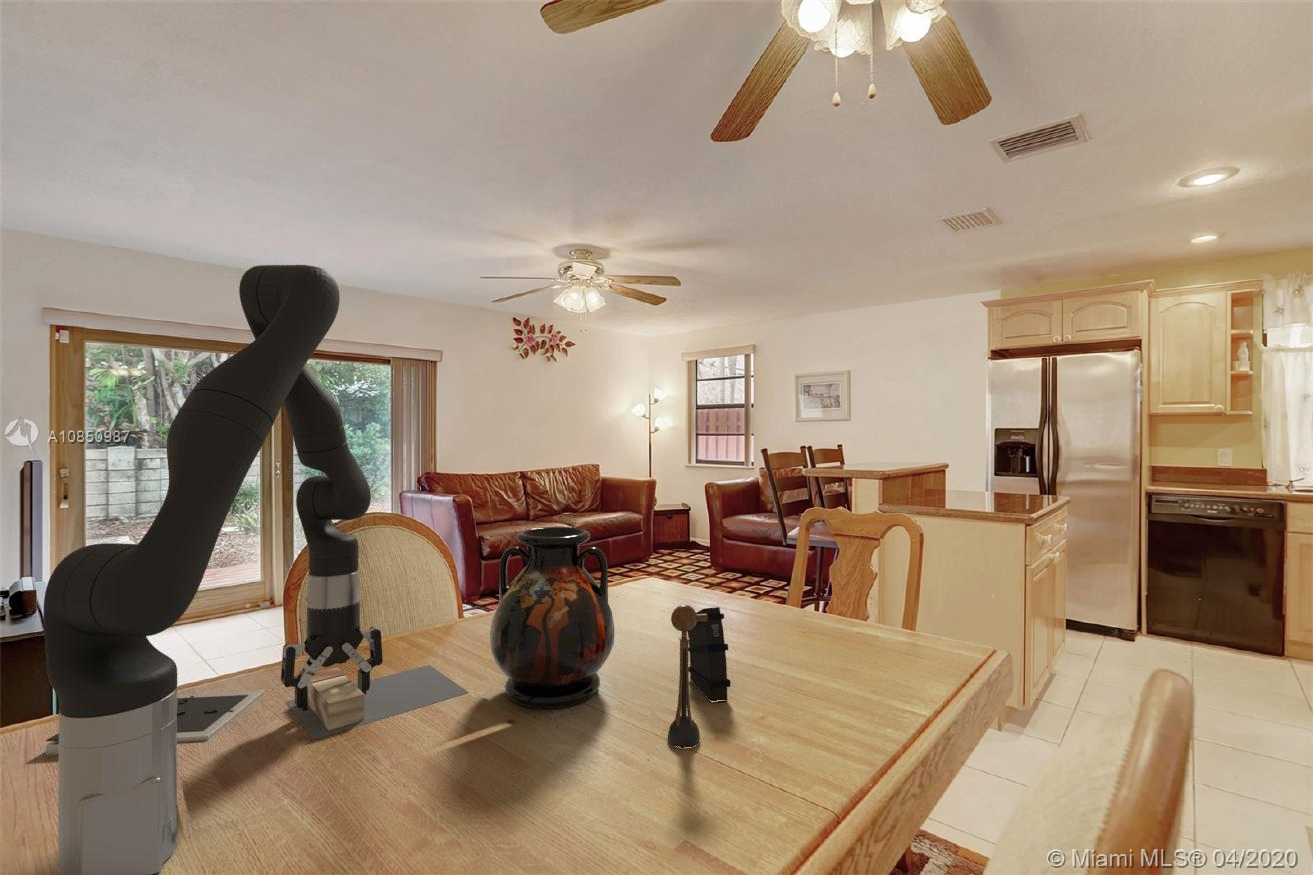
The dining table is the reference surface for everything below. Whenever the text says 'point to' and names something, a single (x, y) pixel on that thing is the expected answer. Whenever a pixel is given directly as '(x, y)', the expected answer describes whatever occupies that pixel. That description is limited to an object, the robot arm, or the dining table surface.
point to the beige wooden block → (335, 698)
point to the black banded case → (709, 655)
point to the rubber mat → (389, 698)
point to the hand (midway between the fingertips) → (333, 701)
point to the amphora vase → (552, 620)
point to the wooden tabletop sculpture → (684, 680)
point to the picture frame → (199, 714)
